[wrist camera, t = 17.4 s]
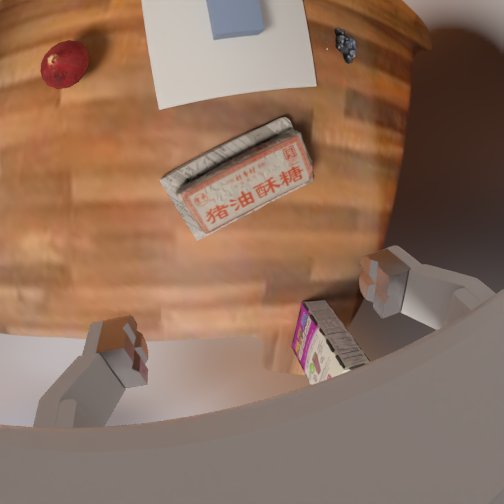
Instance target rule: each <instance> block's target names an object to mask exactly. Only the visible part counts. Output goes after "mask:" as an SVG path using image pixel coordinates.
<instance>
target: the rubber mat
mask: <svg viewBox="0 0 504 504" xmlns="http://www.w3.org/2000/svg"><path fill="white" fill-rule="evenodd" d="M259 3H260V8H261V13H262V18H263V23H264V28H265V30H264V31H262V32H261V33H260V34H259V35H253V36H243V37H234V38H226V39H219V40H213V35H212V30H211V24H210V19H209V13H208V8H207V3H206V0H142V8H143V15H144V23H145V30H146V37H147V43H148V50H149V56H150V62H151V68H152V74H153V79H154V85H155V90H156V95H157V101H158V106H159V110H162V109H166V108H170V107H174V106H178V105H182V104H187V103H192V102H196V101H201V100H206V99H212V98H217V97H223V96H229V95H235V94H242V93H249V92H257V91H265V90H275V89H285V88H298V87H315V86H317V85H316V77H315V70H314V63H313V57H312V50H311V44H310V38H309V32H308V27H307V21H306V16H305V11H304V6H303V1H302V0H259Z"/></svg>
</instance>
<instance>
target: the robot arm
mask: <svg viewBox="0 0 504 504" xmlns="http://www.w3.org/2000/svg"><path fill="white" fill-rule="evenodd" d="M360 267H361V268H362V270H363V272H362V273H361V275H360V276H359V286H360V290H361V293H362V295H363V296H364V298H365V299H366V300H368V301H370V302H373V308H374V309H375V311H376V312H377V313H378V314H379V315H380V316H381V318H385V317H388V316H390V315H393V314H396V313H398V312H401V313H403V314H405V315H407V316H409V317H411V318H413V319H416V320H418V321H420V322H422V323H424V324H426V325H428V326H430V327H432V328H434V329H436V330H437V331H435V332H433V333H431V334H429V335H427V336H425V337H423V338H421V339H419V340H417V341H415V342H413V343H411V344H409V345H407V346H405V347H403V348H401V349H399V350H397V351H395V352H393V353H391V354H388V355H386V356H384V357H381V358H379V359H377V360H375V361H372V362H370V363H368V364H365V365H363V366H360V367H358V368H356V369H353V370H351V371H348V372H346V373H343V374H340V375H338V376H335V377H332V378H330V379H327V380H324V381H321V382H318V383H316V384H313V385H310V386H307V387H304V388H301V389H298V390H295V391H291V392H288V393H285V394H282V395H278V396H275V397H271V398H268V399H264V400H261V401H257V402H253V403H249V404H245V405H241V406H237V407H233V408H229V409H224V410H220V411H215V412H210V413H205V414H200V415H195V416H189V417H183V418H178V419H171V420H164V421H158V422H150V423H141V424H132V425H122V426H108V427H104V426H105V424H106V422H107V421H108V419H109V417H110V416H111V414H112V412H113V410H114V408H115V407H116V405H117V403H118V402H119V400H120V398H121V396H122V395H123V393H124V391H125V388H130V387H136V386H142V385H147V380H148V378H147V377H148V369H147V367H146V366H145V363H146V362H147V360H148V349H147V344H146V341H145V339H144V337H143V335H142V333H140V332H138V331H137V330H136V329H137V323H136V321H135V319H134V318H133V317H132V316H131V315H129V316H124V317H118V318H113V319H108V320H103V321H98V322H93V323H92V324H91V325H90V328H89V332H88V335H87V339H86V343H85V346H84V350H83V354H82V356H79V357H77V359H76V360H75V361H74V362H73V363H72V364H71V365H70V366H69V367H68V368H67V369H66V371H65V372H64V373H63V374H62V375H61V376H60V377H59V378H58V379H57V381H56V382H55V383H54V384H53V385H52V386H51V387H50V388H49V389H48V391H47V392H46V393H45V394H44V395H43V396H42V397H41V399H40V400H39V405H38V409H37V413H36V417H35V422H34V426H33V427H22V426H10V425H0V504H504V289H503V290H501V291H500V292H499V293H497V294H495V293H494V292H493V291H492V290H491V289H490V288H488V287H487V286H486V285H485V284H483V283H482V282H481V281H480V280H479V279H477V278H474V277H470V276H467V275H463V274H460V273H456V272H452V271H449V270H445V269H441V268H438V267H434V266H430V265H426V264H425V265H422V264H420V263H419V262H418V261H417V260H415V259H414V258H413V257H412V256H410V255H409V254H408V253H407V252H405V251H404V250H403V249H401V248H400V247H399V246H392V247H389V248H386V249H384V250H381V251H378V252H375V253H371V254H368V255H365V256H362V258H361V260H360Z"/></svg>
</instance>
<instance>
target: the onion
mask: <svg viewBox="0 0 504 504" xmlns="http://www.w3.org/2000/svg"><path fill="white" fill-rule="evenodd" d="M88 65H89V55H88V52H87V49H86V47H85V46H83V45H82V44H81V43H80V42H76V41H70V40H69V41H65V42H61V43H58V44H57V45H55V46H53V47H52V48H51V49H50V50H49V51H48V52H47V53H46V54H45V56H44V58H43V60H42V63H41V75H42V78H43V80H44V81H45V82H46V84H47V85H49V86H51V87H54V88H56V89H62V88H68V87H71V86H72V85H74V84H76V83H77V82H79V80H80V79H81V78H82V77H83V75H84V74H85V72H86V70H87V67H88Z"/></svg>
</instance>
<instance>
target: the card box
mask: <svg viewBox="0 0 504 504" xmlns="http://www.w3.org/2000/svg"><path fill="white" fill-rule="evenodd" d="M206 3H207V8H208V13H209V19H210V24H211V30H212V35H213V40H219V39H226V38H234V37H243V36H253V35H259V34H260V33H261V32H262V31H264V30H265V28H264V23H263V18H262V13H261V8H260V3H259V0H206Z"/></svg>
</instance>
